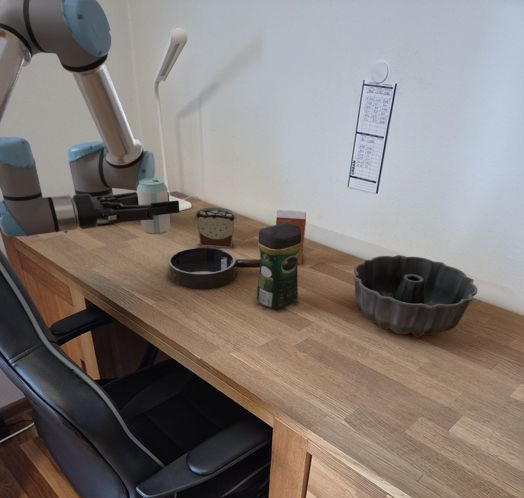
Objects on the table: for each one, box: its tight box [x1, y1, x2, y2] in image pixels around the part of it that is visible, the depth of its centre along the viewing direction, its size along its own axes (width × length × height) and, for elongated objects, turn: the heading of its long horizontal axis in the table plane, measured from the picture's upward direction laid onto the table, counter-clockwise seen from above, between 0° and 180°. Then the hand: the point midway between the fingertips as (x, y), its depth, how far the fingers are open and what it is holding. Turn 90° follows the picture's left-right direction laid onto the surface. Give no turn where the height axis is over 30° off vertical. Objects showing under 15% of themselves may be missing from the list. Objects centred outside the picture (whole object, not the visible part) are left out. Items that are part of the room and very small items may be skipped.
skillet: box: [167, 246, 236, 290], centre depth 119 cm, size 17×17×4 cm
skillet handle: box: [235, 258, 260, 269], centre depth 120 cm, size 13×2×2 cm, turn 95°
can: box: [136, 177, 171, 235], centre depth 110 cm, size 7×7×12 cm
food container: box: [194, 207, 238, 249], centre depth 136 cm, size 12×6×10 cm, turn 84°
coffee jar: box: [256, 222, 301, 310], centre depth 104 cm, size 10×8×19 cm
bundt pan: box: [352, 254, 478, 338], centre depth 103 cm, size 26×26×10 cm
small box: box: [275, 209, 307, 265], centre depth 127 cm, size 8×6×13 cm
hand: (173, 201), depth 112 cm, fingers closed on can, 7 cm apart
